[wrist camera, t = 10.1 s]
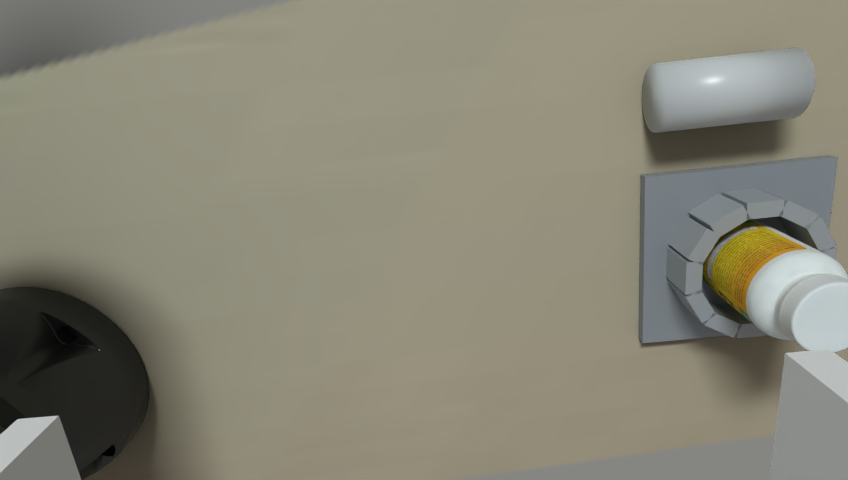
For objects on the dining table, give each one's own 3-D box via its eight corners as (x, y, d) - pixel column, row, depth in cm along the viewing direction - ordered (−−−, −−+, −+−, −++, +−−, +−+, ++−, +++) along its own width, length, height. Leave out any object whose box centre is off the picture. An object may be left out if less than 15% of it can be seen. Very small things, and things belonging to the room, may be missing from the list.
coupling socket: (638, 337, 40) (659, 365, 36) (640, 174, 36) (663, 187, 32) (809, 322, 39) (847, 349, 36) (829, 155, 35) (874, 166, 32)
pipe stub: (641, 128, 35) (666, 136, 31) (642, 63, 34) (668, 63, 30) (769, 115, 35) (810, 121, 31) (774, 48, 34) (818, 46, 30)
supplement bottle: (790, 228, 36) (910, 285, 27) (754, 300, 38) (856, 376, 29) (713, 208, 36) (810, 258, 27) (681, 281, 37) (761, 352, 28)
